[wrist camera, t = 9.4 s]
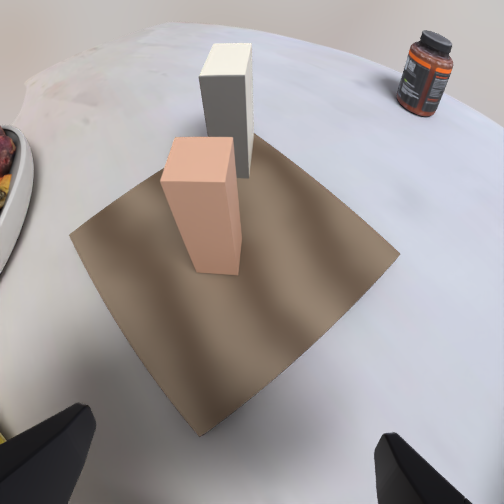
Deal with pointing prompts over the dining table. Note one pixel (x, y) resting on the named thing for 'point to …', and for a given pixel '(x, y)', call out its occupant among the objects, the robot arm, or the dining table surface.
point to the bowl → (13, 187)
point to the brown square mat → (231, 284)
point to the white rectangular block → (230, 99)
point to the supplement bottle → (425, 74)
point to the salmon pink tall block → (205, 201)
